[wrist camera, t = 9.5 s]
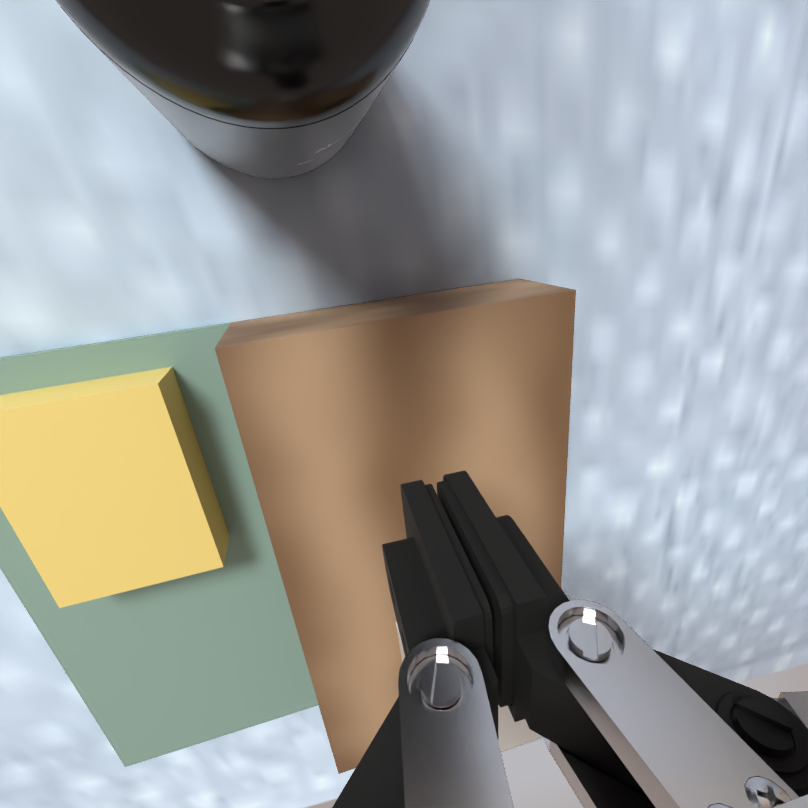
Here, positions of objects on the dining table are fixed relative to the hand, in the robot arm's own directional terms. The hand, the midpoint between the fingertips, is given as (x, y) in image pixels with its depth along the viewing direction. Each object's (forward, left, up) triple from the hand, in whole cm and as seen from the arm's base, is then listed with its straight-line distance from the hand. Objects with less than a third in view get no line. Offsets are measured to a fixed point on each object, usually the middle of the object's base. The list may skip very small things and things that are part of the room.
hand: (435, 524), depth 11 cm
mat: (+10, +7, -9) cm, 15 cm away
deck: (-1, +7, -9) cm, 11 cm away
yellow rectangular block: (+10, +1, -7) cm, 12 cm away
